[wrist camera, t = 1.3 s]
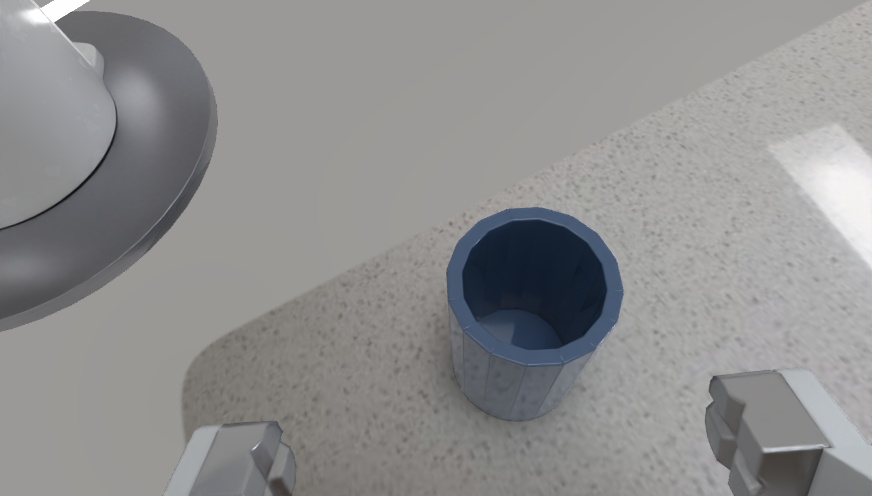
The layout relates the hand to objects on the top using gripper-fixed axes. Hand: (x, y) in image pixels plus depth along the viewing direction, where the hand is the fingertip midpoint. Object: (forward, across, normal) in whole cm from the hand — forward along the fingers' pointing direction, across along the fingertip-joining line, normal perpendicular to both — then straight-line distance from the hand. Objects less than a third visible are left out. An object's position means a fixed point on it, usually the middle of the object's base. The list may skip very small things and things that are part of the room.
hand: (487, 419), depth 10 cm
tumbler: (+14, -1, +12) cm, 19 cm away
